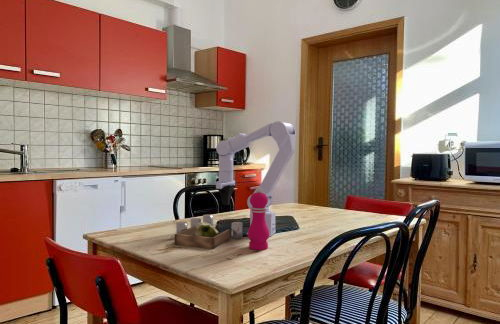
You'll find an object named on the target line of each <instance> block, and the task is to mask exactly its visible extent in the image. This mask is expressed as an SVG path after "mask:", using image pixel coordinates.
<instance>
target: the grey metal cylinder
mask: <svg viewBox="0 0 500 324" xmlns="http://www.w3.org/2000/svg"><path fill="white" fill-rule="evenodd" d="M202 222H207V223H209V224H211V226H213V227H214V215H213V214H203V215H202Z"/></svg>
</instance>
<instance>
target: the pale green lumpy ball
mask: <svg viewBox="0 0 500 324" xmlns="http://www.w3.org/2000/svg"><path fill="white" fill-rule="evenodd" d="M195 228H196V233H195V236H202V237H214V236H216V235H218V234H219V231H218V230H217V228H216V226H215V225H213V226H211V224H209V223H207V222H203V221H201V223H198V224H197V225H196V226H195Z"/></svg>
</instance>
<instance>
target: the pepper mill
mask: <svg viewBox="0 0 500 324" xmlns="http://www.w3.org/2000/svg"><path fill="white" fill-rule="evenodd" d="M256 189H257V190H256ZM256 189H255V190H256V191H257V193H254V192H253V193H254V194H253V193H252V194H250V196H251V197H250V204H251V205H252V207H251V209H252V210H251V211H252V212H253V218H252V223H251V225H250V224H249V228H248V230H247V233H248V234H247V238H248V239H249V240H250V241H249V242H248V248H249V249H250V250H253V251H254V250H255V251H262V250H267V249H268V248H269V242H268V241H267V240H268V239H269V238H270V237H269V229H268V227H267V224H266V221H265V212H266V207H265V206H266V205H267V203H268V198H267V196H266V195H265V194H264V193H261V191H262V190H261V188H258V187H257V188H256Z"/></svg>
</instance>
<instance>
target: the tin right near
mask: <svg viewBox="0 0 500 324" xmlns="http://www.w3.org/2000/svg"><path fill="white" fill-rule="evenodd" d="M198 223H202V218H200V217H194V218H193V217H192V218H190V228H191V227H194V226H196V225H197V224H198Z"/></svg>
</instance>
